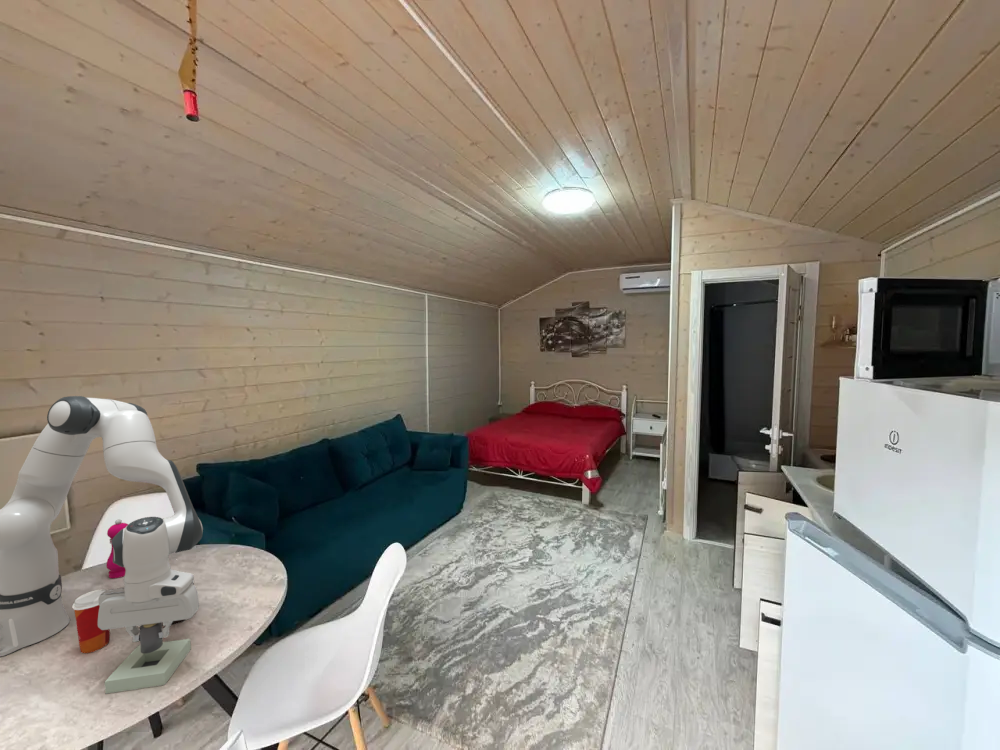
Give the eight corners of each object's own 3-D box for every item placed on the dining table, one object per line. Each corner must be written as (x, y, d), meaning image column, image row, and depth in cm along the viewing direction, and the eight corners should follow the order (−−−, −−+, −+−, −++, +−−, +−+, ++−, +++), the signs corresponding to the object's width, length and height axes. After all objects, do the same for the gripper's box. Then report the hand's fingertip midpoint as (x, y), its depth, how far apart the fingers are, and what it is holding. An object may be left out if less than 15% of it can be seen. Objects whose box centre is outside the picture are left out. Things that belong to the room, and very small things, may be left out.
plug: (136, 654, 100) (135, 629, 99) (147, 642, 104) (145, 618, 103) (156, 651, 101) (155, 626, 100) (166, 640, 105) (165, 615, 104)
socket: (105, 693, 95) (104, 681, 95) (138, 656, 107) (138, 645, 106) (164, 684, 98) (164, 672, 97) (190, 649, 109) (190, 638, 109)
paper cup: (95, 635, 114) (93, 587, 114) (122, 636, 114) (120, 588, 113) (65, 656, 107) (62, 604, 106) (93, 657, 106) (91, 605, 106)
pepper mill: (122, 567, 150) (120, 514, 149) (139, 569, 150) (137, 516, 148) (101, 578, 143) (98, 523, 142) (118, 580, 142) (116, 524, 141)
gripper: (88, 598, 96) (92, 654, 97) (188, 586, 100) (190, 640, 101) (107, 583, 102) (110, 636, 103) (200, 573, 106) (203, 624, 107)
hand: (151, 638), depth 102 cm, fingers closed on plug, 4 cm apart
